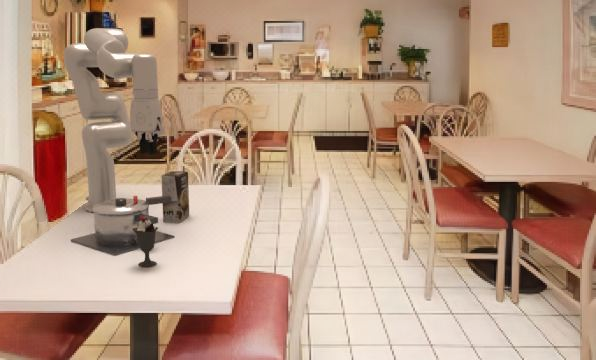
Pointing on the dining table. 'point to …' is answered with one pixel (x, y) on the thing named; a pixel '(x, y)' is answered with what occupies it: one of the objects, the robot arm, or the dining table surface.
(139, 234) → the sundae
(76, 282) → the dining table surface
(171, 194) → the coffee box
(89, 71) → the robot arm
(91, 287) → the dining table surface
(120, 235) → the cooker
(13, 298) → the dining table surface
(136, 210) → the lid
